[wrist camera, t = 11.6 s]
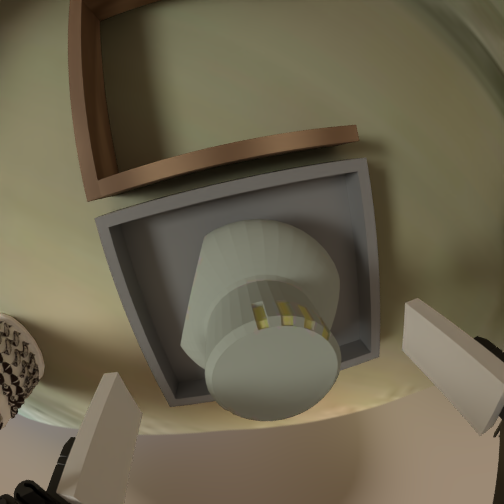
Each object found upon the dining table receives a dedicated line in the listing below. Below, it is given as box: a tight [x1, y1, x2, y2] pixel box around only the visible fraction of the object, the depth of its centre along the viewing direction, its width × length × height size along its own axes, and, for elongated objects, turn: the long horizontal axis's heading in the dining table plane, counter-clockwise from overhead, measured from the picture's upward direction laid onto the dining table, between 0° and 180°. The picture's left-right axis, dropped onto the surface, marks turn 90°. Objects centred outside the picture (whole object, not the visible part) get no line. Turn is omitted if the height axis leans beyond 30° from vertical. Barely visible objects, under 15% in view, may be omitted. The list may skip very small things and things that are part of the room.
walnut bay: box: [68, 0, 359, 202], centre depth 15 cm, size 16×16×4 cm
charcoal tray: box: [95, 158, 380, 407], centre depth 20 cm, size 18×16×3 cm
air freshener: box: [180, 219, 341, 421], centre depth 16 cm, size 11×8×10 cm
